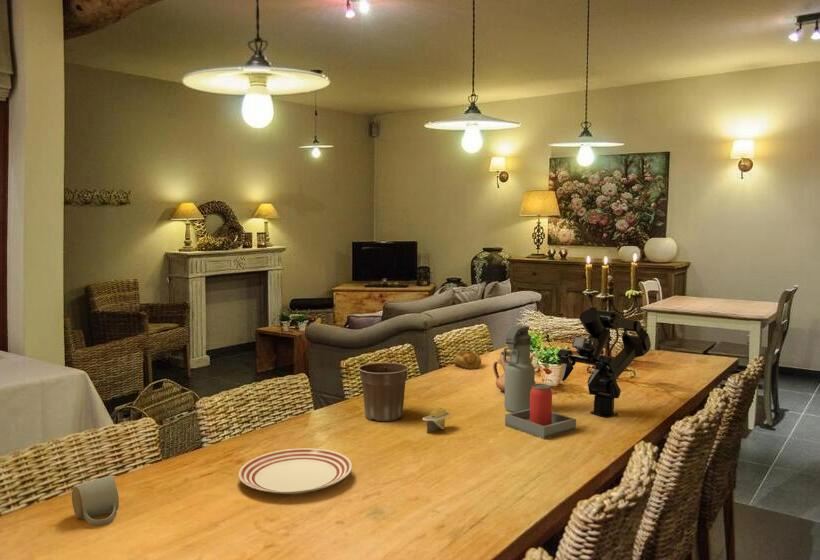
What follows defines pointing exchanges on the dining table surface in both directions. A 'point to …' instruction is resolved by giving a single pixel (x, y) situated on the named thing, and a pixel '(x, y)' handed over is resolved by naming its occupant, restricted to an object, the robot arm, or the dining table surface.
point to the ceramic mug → (96, 500)
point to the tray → (523, 423)
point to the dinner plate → (295, 470)
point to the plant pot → (383, 390)
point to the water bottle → (518, 370)
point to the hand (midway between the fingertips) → (575, 383)
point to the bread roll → (467, 360)
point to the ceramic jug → (501, 380)
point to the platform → (436, 419)
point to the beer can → (541, 404)
